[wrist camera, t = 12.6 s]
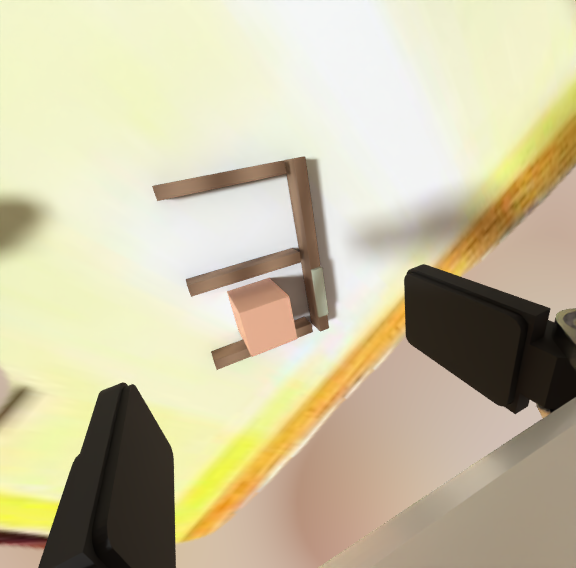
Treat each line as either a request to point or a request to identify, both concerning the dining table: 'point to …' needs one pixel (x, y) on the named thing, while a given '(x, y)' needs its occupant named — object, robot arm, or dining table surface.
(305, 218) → the comb rack
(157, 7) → the dining table surface
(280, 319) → the block
